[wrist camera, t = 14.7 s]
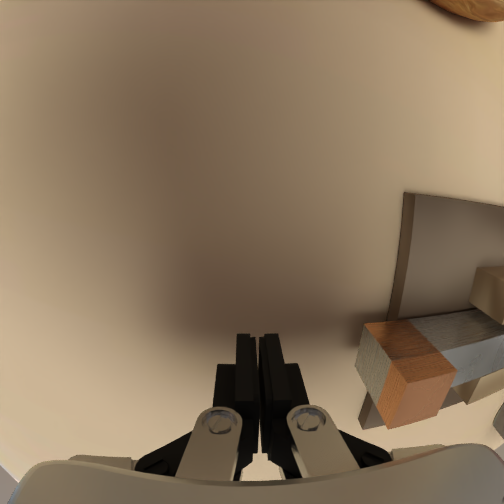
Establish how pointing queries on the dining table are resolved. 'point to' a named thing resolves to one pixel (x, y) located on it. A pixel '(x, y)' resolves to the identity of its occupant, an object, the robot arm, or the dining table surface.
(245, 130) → the dining table surface
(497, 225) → the dock
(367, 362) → the copper-tipped grey bar
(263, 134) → the dining table surface
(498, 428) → the thermos bottle
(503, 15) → the pastry
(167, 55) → the dining table surface
